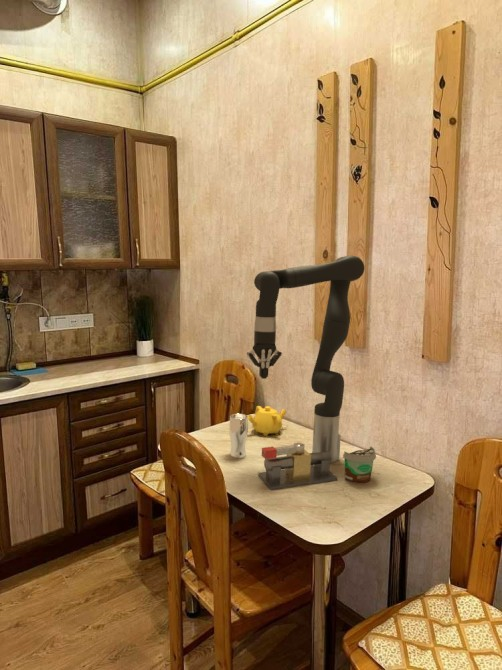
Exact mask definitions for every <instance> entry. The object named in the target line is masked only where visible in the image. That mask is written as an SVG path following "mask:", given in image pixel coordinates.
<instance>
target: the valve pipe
mask: <svg viewBox="0 0 502 670" xmlns="http://www.w3.org/2000/svg"><path fill="white" fill-rule="evenodd" d="M331 460H332V458H331V454H330V452H329V451H324V452H316V453H312V452H308V451H307V450H306V449H304V453H303V454H296V453H292V454H286V456H285V455H283V456H277V457H275V458H269V459H265V458H264V462H263V466H264V469H265V471H260V472H258V473H257V475H258V477H259V478H260V480H262V482H263V483H264V484H265V485H266V486H267V488H268V489H269V490H270V491H275V490H282V489H288V488H295V487H301V486H303V487H304V486H308V485H315V484H320V483H328V482H334V481H338V477H337V476H336V475H335V474H334V473H332V472H331V471H330V463H331Z"/></svg>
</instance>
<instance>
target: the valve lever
mask: <svg viewBox="0 0 502 670" xmlns="http://www.w3.org/2000/svg"><path fill="white" fill-rule="evenodd" d="M304 450H305V444H304V443H302V442H295V443H293V444H290V445H284V446H283V445H282V446H268V447H267V446H266V447H262V448H261V457H262V458H264V460H265V459H269V458H275V457H280V456H285V455H286V456H287V454H292V453H296V454H303V453H304Z"/></svg>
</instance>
